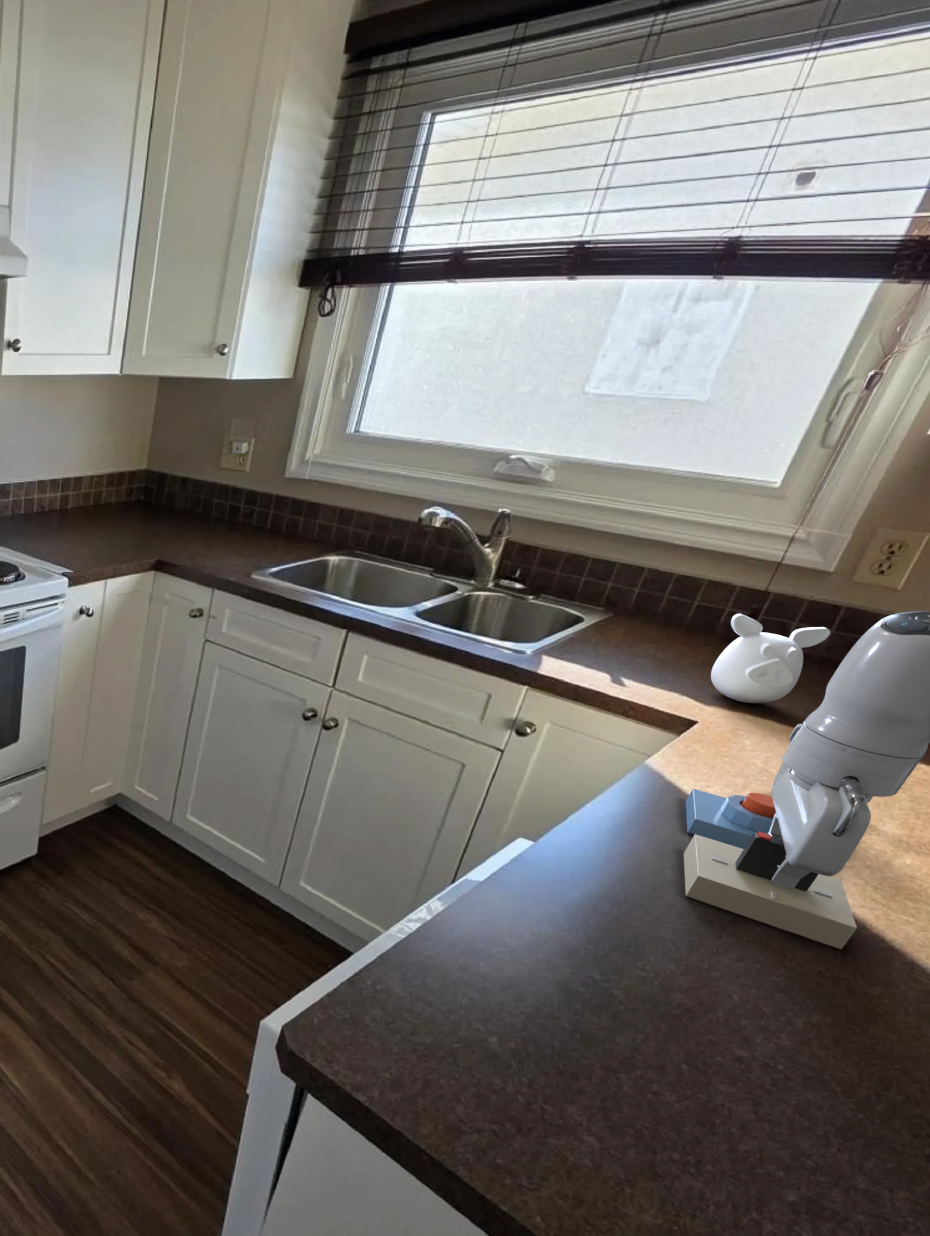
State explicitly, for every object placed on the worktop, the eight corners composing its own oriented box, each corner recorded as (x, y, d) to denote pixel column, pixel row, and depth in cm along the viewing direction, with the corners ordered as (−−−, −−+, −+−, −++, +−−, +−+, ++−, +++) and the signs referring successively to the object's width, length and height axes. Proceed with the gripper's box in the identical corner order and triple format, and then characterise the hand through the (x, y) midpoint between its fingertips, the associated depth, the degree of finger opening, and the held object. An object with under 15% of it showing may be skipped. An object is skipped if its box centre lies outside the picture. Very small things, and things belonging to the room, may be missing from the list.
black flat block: (804, 884, 91) (828, 851, 88) (806, 891, 89) (830, 857, 87) (734, 862, 94) (755, 829, 92) (735, 869, 93) (757, 835, 90)
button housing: (802, 835, 105) (819, 810, 103) (812, 871, 98) (831, 845, 96) (685, 801, 112) (699, 777, 110) (687, 832, 105) (702, 807, 103)
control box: (826, 899, 93) (841, 877, 92) (841, 949, 86) (858, 927, 84) (683, 853, 100) (695, 832, 99) (685, 896, 93) (698, 874, 91)
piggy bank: (726, 711, 139) (771, 630, 132) (683, 683, 150) (723, 607, 143) (807, 719, 138) (857, 638, 131) (757, 691, 148) (802, 614, 141)
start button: (776, 811, 103) (783, 799, 103) (779, 822, 101) (787, 811, 100) (739, 800, 105) (746, 789, 105) (741, 811, 103) (748, 800, 102)
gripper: (910, 813, 76) (828, 925, 82) (870, 738, 90) (803, 838, 96) (818, 788, 79) (746, 897, 85) (794, 720, 93) (733, 817, 100)
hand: (776, 865), depth 91 cm, fingers open, 7 cm apart
